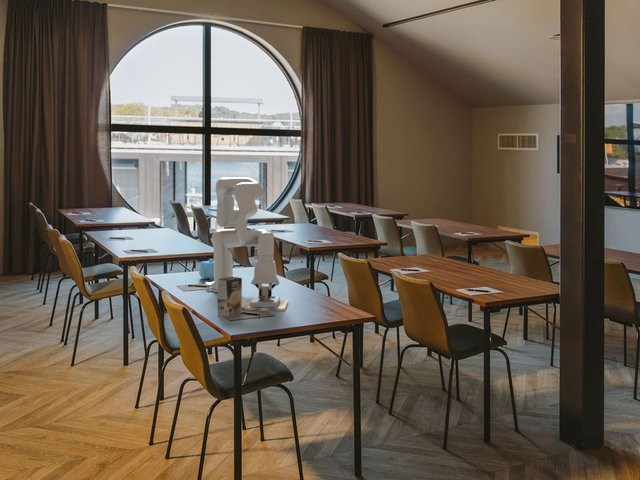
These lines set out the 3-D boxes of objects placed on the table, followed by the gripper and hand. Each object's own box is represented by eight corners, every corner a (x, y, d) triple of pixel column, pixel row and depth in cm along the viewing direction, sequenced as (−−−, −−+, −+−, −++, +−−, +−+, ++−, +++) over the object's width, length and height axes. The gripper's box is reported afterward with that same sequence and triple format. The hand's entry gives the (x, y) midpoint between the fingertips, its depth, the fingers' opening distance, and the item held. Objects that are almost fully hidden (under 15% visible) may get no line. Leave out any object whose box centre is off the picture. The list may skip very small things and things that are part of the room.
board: (236, 310, 317) (236, 298, 316) (241, 302, 335) (241, 290, 334) (284, 311, 316) (284, 299, 316) (287, 302, 334) (288, 291, 334)
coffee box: (228, 317, 304) (228, 280, 302) (217, 315, 307) (217, 279, 305) (242, 313, 311) (242, 277, 309) (231, 311, 315) (231, 276, 313)
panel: (250, 306, 318) (250, 289, 317) (254, 299, 334) (254, 282, 333) (276, 307, 317) (276, 290, 316) (279, 299, 333) (279, 283, 332)
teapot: (224, 281, 389) (224, 260, 387) (199, 281, 386) (199, 261, 385) (223, 276, 403) (223, 256, 402) (198, 276, 401) (198, 257, 400)
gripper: (246, 259, 320) (246, 299, 322) (282, 260, 319) (282, 300, 321) (248, 257, 327) (248, 295, 329) (283, 257, 326) (283, 296, 329)
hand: (265, 297), depth 325 cm, fingers closed on panel, 3 cm apart
